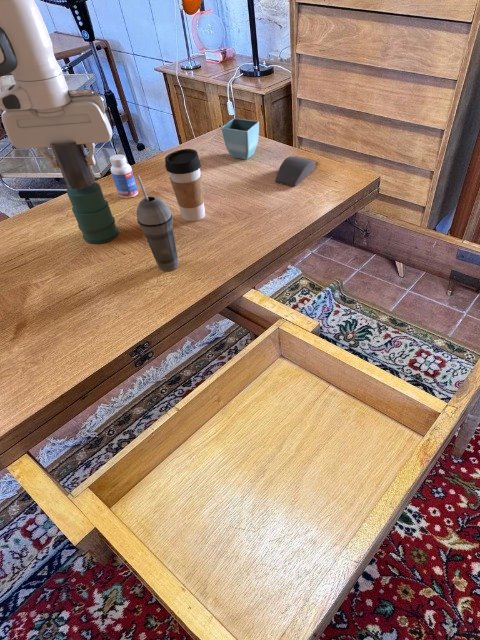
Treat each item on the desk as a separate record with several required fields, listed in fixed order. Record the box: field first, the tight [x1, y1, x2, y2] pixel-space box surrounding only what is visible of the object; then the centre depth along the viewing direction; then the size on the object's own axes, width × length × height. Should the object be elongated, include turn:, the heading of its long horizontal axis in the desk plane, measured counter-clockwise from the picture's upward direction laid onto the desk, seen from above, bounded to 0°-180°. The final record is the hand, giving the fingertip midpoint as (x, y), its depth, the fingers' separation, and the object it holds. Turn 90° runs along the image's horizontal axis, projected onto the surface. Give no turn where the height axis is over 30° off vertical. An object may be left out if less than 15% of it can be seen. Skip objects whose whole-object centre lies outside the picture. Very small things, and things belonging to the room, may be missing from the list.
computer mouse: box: [274, 156, 316, 188], centre depth 128 cm, size 8×14×4 cm, turn 152°
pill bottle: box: [109, 154, 139, 199], centre depth 120 cm, size 6×5×10 cm
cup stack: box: [66, 181, 120, 245], centre depth 106 cm, size 9×9×12 cm
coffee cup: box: [164, 148, 206, 222], centre depth 109 cm, size 8×8×15 cm
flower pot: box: [220, 117, 260, 161], centre depth 135 cm, size 9×9×9 cm
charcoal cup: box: [50, 142, 96, 189], centre depth 97 cm, size 6×6×9 cm
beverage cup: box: [136, 174, 179, 272], centre depth 93 cm, size 7×7×20 cm
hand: (74, 165), depth 97 cm, fingers closed on charcoal cup, 6 cm apart
